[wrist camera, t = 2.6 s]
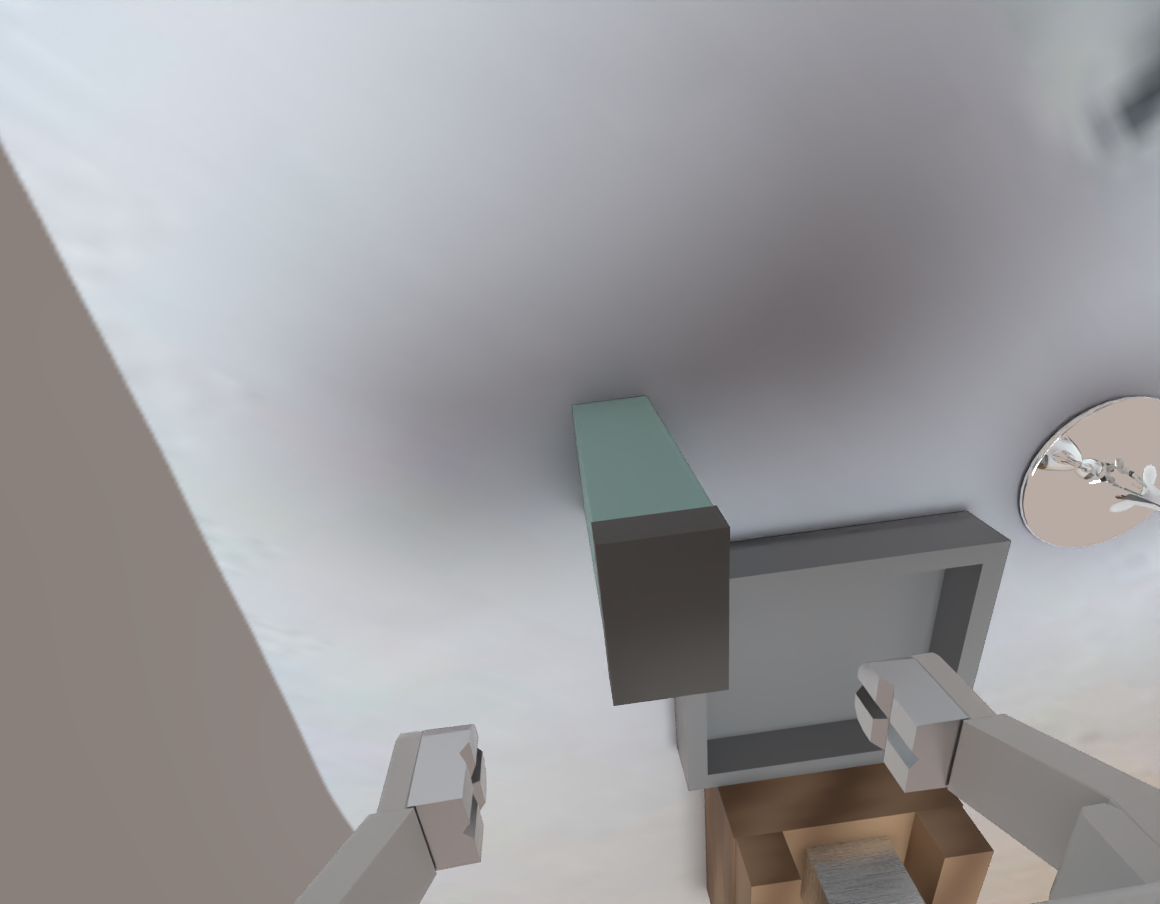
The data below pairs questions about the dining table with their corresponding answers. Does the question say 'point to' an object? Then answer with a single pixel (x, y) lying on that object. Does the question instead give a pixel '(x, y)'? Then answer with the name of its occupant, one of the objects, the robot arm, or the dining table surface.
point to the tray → (834, 639)
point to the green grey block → (653, 555)
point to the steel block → (857, 874)
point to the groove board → (837, 834)
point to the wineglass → (1095, 475)
